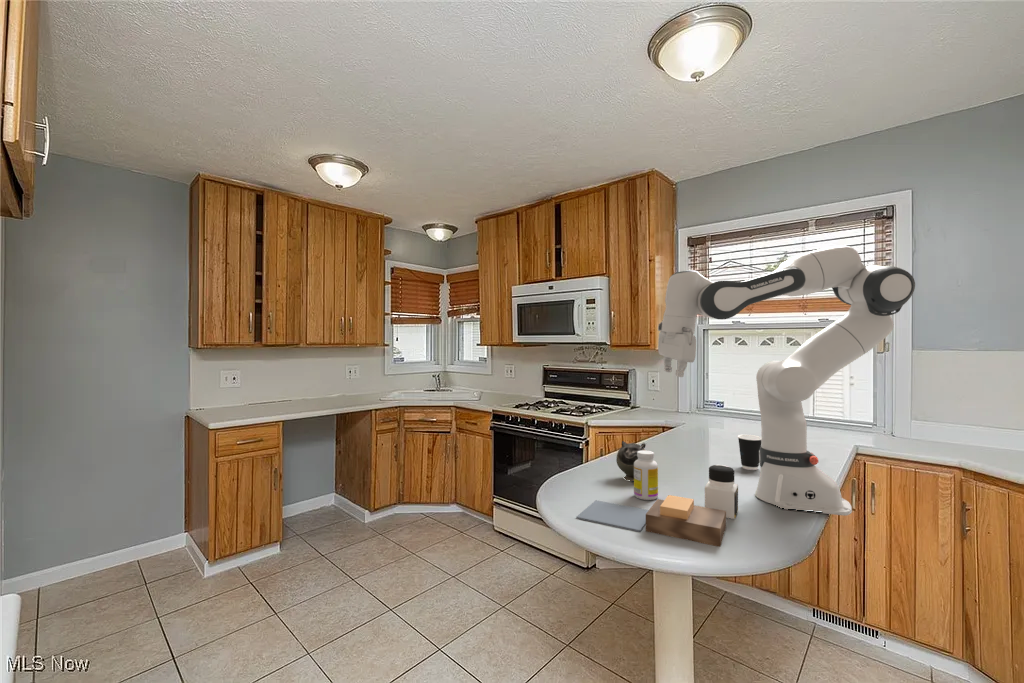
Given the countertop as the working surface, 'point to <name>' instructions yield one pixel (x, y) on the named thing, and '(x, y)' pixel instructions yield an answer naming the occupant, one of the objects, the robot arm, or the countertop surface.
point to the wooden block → (689, 524)
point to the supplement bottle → (645, 476)
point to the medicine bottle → (722, 490)
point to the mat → (615, 515)
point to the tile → (677, 507)
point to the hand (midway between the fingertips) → (673, 374)
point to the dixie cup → (749, 451)
